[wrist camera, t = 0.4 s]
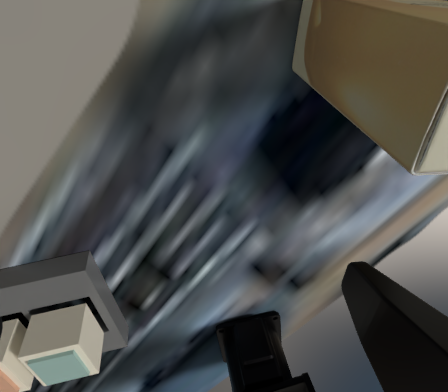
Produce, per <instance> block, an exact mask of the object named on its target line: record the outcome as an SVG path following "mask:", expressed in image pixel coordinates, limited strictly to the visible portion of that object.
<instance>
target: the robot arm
mask: <svg viewBox="0 0 448 392" xmlns="http://www.w3.org/2000/svg"><path fill="white" fill-rule="evenodd" d="M341 286H342V292H343V295H344V297H345V300H346V303H347V306H348V309H349V311H350V314H351V317H352V319H353V322H354V325H355V328H356V331H357V333H358V336H359V339H360V341H361V344H362V346H363V348H364V351H365V353H366V355H367V357H368V359H369V361H370V363H371V365H372V367H373V369H374V371H375V374H376V376H377V378H378V380H379V382H380V384H381V386H382V388H383V390H384V392H448V317H447V316H445V315H444V314H442V313H441V312H439V311H438V310H436V309H435V308H433V307H432V306H430V305H429V304H427V303H426V302H424V301H423V300H421V299H420V298H418V297H417V296H415V295H414V294H412V293H411V292H409V291H408V290H406V289H405V288H403V287H402V286H400V285H399V284H398V283H396V282H394V281H393V280H391V279H390V278H389V277H387V276H386V275H384V274H383V273H381V272H380V271H378V270H377V269H375V268H374V267H372V266H371V265H369V264H368V263H366V262H362V261H361V262H351V263H350V264H348V266H347V269H346V272H345V274H344V277H343V280H342V285H341ZM2 329H3V322H2V318H1V316H0V338H1V334H2ZM216 333H217V337H218V341H219V345H220V349H221V353H222V357H223V361H224V362H227V366H228V371H229V376H230V381H231V386H232V392H315V390H314V387H313V385H312V382H311V380H310V377H309V375H308V373H303V374H302V375H301V376H298V377H294V378H292V375H291V372H290V369H289V366H288V363H287V360H286V357H285V354H284V351H283V348H282V345H281V324H280V315H279V313H278V312H272V313H268V314H263V315H259V316H255V317H251V318H247V319H242V320H238V321H234V322H230V323H225V324H221V325H218V326H217V327H216Z"/></svg>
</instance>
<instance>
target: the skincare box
mask: <svg viewBox="0 0 448 392" xmlns="http://www.w3.org/2000/svg"><path fill="white" fill-rule="evenodd" d="M292 70H293V71H294V72H295V73H296V74H297V75H299V76H300V77H301V78H302V79H303V80H304V81H305V82H306V83H308V84H309V85H310V86H311V87H312V88H313V89H314V90H316V91H317V92H318V93H319V94H320V95H321V96H322V97H324V98H325V99H326V100H327V101H328V102H329V103H330V104H331V105H333V106H334V107H335V108H336V109H337V110H338V111H340V112H341V113H342V114H343V115H344V116H345V117H346V118H348V119H349V120H350V121H351V122H352V123H353V124H354V125H356V126H357V127H358V128H359V129H360V130H362V131H363V132H364V133H365V134H366V135H367V136H368V137H370V138H371V139H372V140H373V141H374V142H375V143H376V144H378V145H379V146H380V147H381V148H382V149H383V150H384V151H385V152H387V153H388V154H389V155H390V156H391V157H392V158H393V159H395V160H396V161H397V162H398V163H399V164H400V165H401V166H402V167H404V168H405V169H406V170H407V171H408V172H409V173H411V174H412V175H437V174H448V1H442V0H303V3H302V9H301V14H300V20H299V25H298V31H297V37H296V44H295V50H294V57H293V64H292Z"/></svg>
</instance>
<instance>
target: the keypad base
mask: <svg viewBox="0 0 448 392" xmlns="http://www.w3.org/2000/svg"><path fill="white" fill-rule="evenodd" d="M85 297H90V299H91V300H92V302H93V304H94V306H95V307H96V309H97V311H98V312H99V314H95V315H93V316H94V317H95V319H96V321H97V322H98V324H99V326H100V327H101V329H102V331H103V332H104V338H103V346H102V352H106V351H110V350H115V349H119V348H123V347H127V344H128V327H129V326H128V324H127V323H126V321H125V319H124V317H123V315H122V313H121V311H120V309H119V307H118V305H117V303H116V301H115V299H114V297H113V295H112V293H111V291H110V289H109V288H108V286H107V284H106V282H105V280H104V278H103V276H102V274H101V272H100V270H99V268H98V266H97V264H96V262H95V260H94V258H93V256H92V254H91V253H90V251H85V252H80V253H76V254H71V255H66V256H62V257H57V258H52V259H48V260H43V261H39V262H34V263H29V264H25V265H20V266H15V267H11V268H6V269H1V270H0V316H5V315H9V314H14V313H18V312H22V313H23V315H24V316H25V317H26V318H27V320H28V321H29V322H30V319H31V316H32V315H36V314H40V313H45V312H49V311H50V310H49V309H48V308H47V306H49V305H54V304H58V303H63V302H67V301H72V300H76V299H80V298H85Z"/></svg>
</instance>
